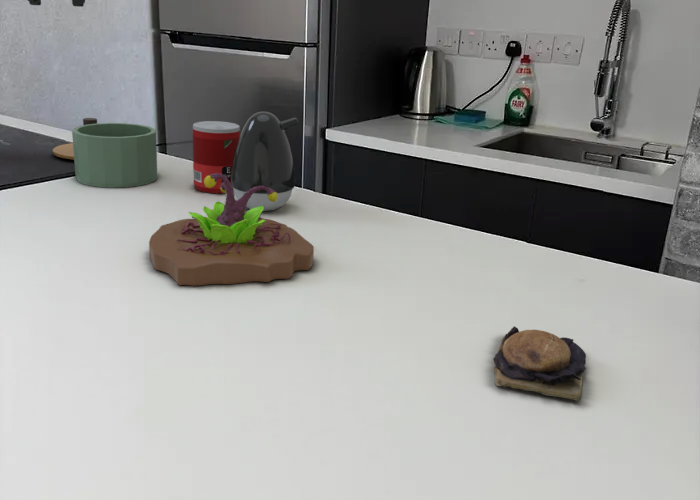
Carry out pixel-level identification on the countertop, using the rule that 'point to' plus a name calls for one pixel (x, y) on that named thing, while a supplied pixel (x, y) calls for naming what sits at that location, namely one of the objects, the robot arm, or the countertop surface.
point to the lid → (67, 149)
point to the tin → (115, 154)
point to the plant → (229, 243)
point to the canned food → (213, 152)
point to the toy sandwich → (540, 363)
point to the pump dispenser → (264, 161)
